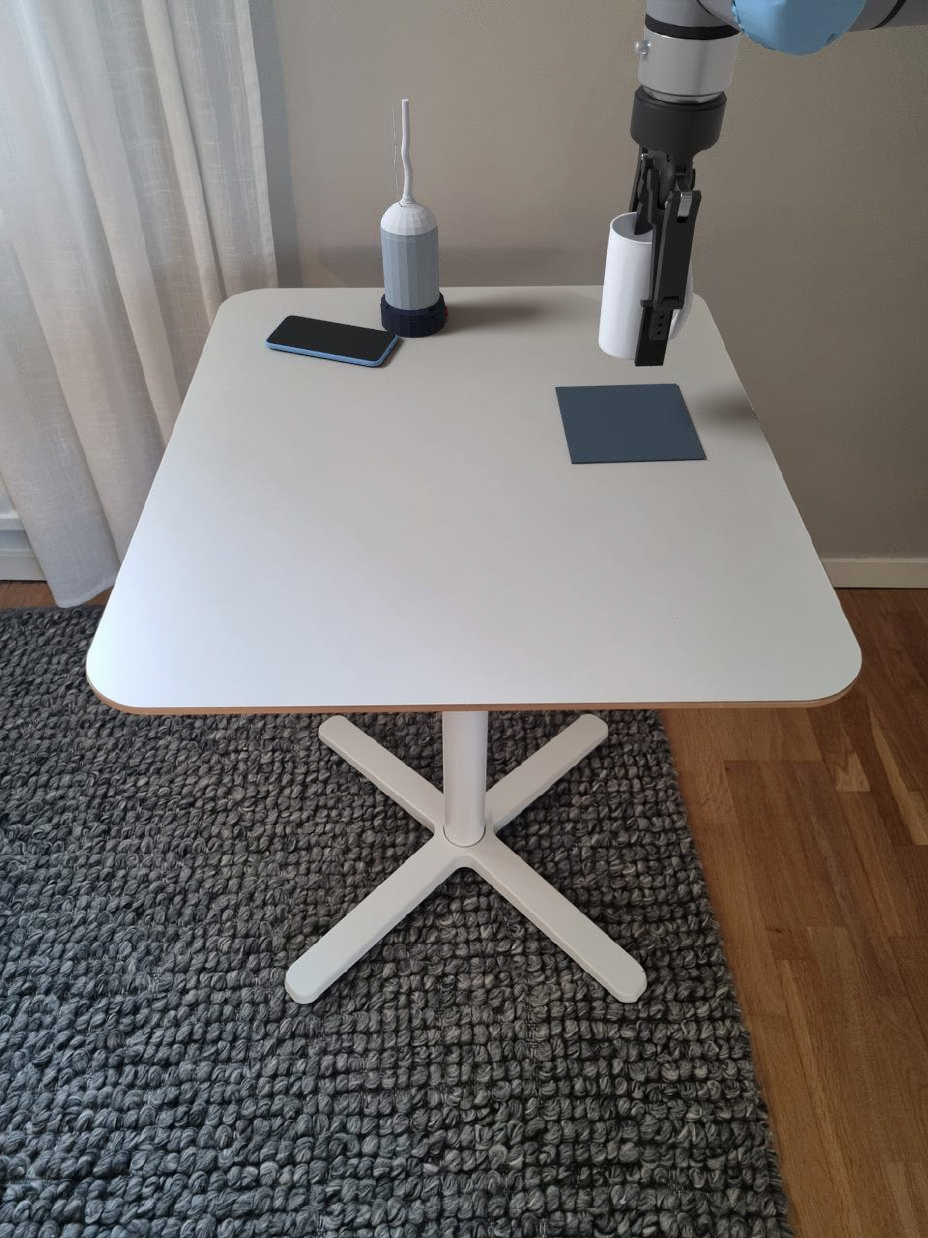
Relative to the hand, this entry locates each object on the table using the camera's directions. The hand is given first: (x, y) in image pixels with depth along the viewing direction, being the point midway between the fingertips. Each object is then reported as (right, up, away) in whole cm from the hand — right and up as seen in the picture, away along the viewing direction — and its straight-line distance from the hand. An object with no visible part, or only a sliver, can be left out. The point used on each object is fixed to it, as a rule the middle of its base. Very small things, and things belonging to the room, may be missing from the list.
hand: (639, 339), depth 88 cm
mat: (0, -7, +7) cm, 10 cm away
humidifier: (-24, +9, +22) cm, 34 cm away
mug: (0, -1, +1) cm, 1 cm away
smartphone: (-34, +5, +18) cm, 39 cm away
